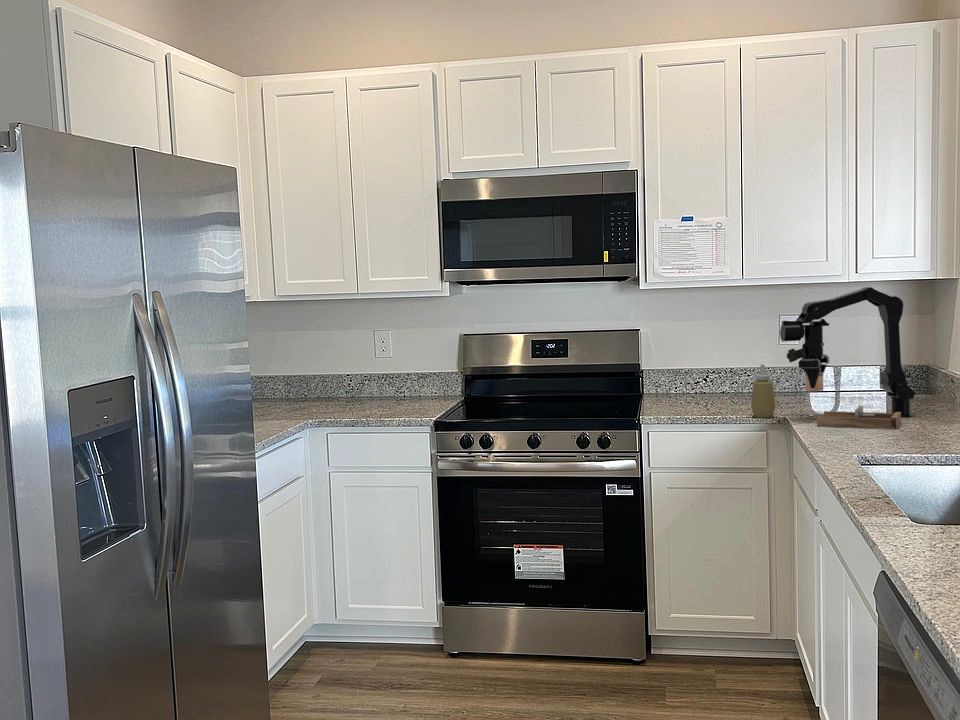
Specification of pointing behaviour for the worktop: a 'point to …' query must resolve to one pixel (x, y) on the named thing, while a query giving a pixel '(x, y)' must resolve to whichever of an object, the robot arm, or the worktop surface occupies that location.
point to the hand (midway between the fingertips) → (814, 387)
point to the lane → (859, 420)
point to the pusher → (860, 413)
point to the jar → (818, 384)
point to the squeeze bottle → (763, 395)
